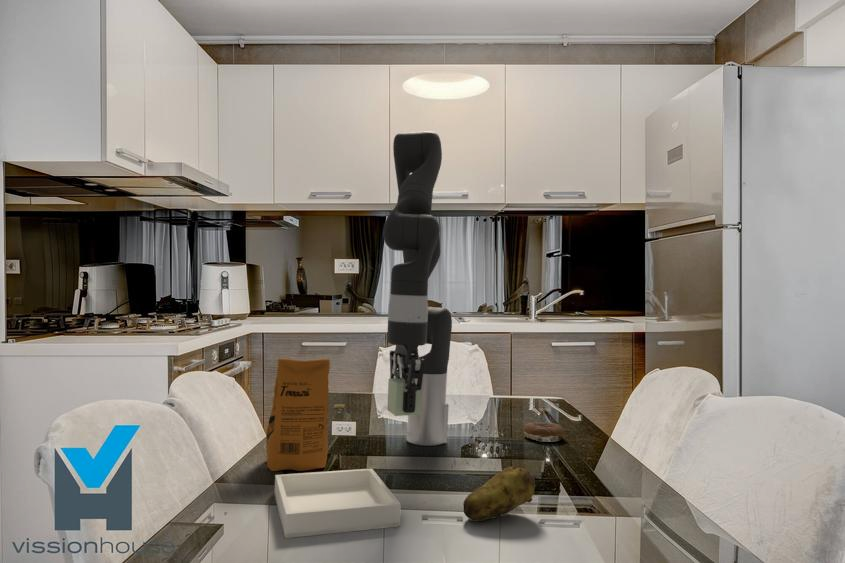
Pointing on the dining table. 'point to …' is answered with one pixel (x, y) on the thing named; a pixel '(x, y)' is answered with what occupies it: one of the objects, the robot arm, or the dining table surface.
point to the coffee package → (299, 416)
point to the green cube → (400, 398)
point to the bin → (334, 502)
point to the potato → (500, 494)
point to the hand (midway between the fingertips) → (404, 408)
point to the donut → (543, 430)
